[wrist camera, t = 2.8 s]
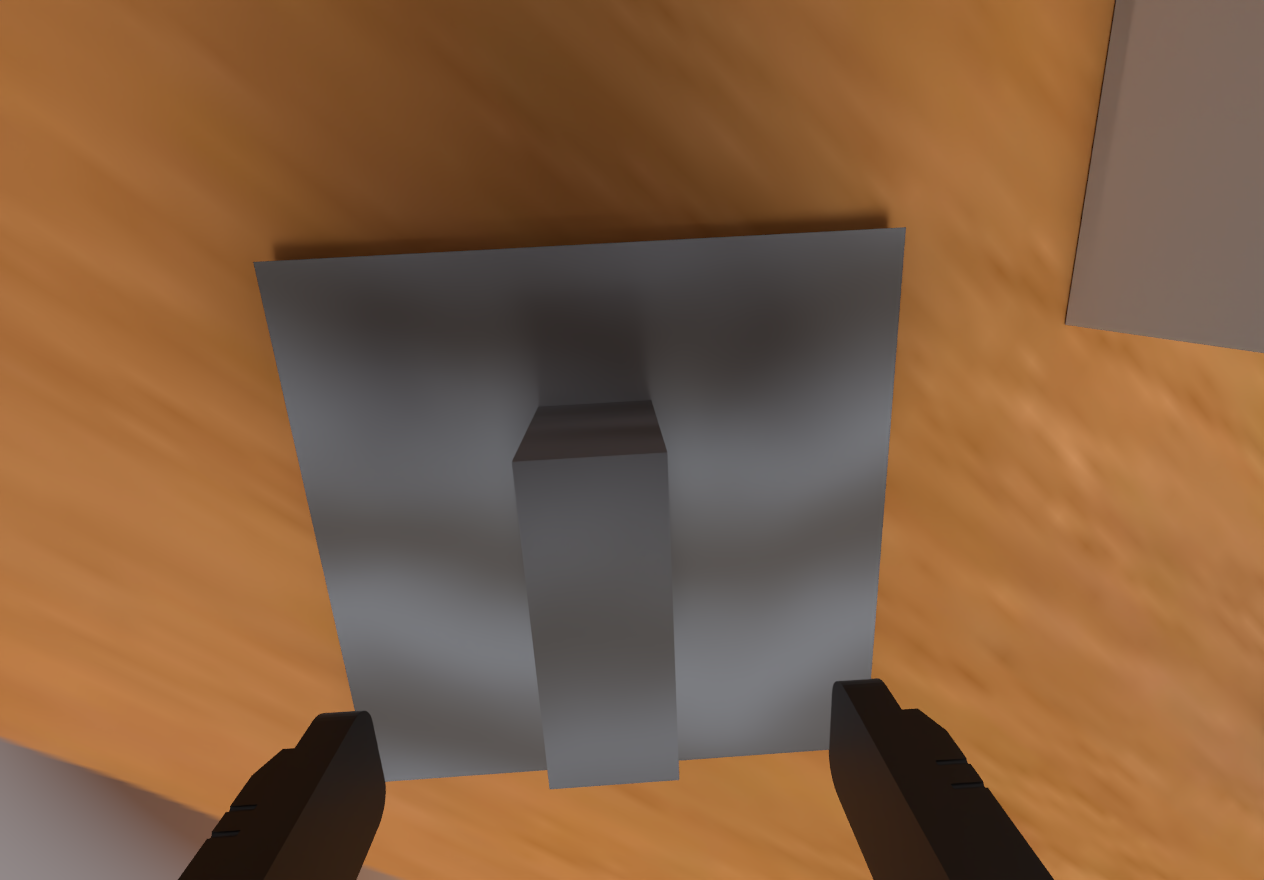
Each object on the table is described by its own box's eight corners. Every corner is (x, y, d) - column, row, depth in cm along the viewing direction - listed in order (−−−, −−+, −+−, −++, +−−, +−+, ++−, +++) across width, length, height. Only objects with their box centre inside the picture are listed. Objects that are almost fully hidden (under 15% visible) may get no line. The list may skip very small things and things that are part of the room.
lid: (287, 262, 16) (102, 262, 10) (878, 230, 16) (1028, 213, 10) (388, 743, 21) (302, 934, 15) (846, 711, 21) (938, 886, 15)
